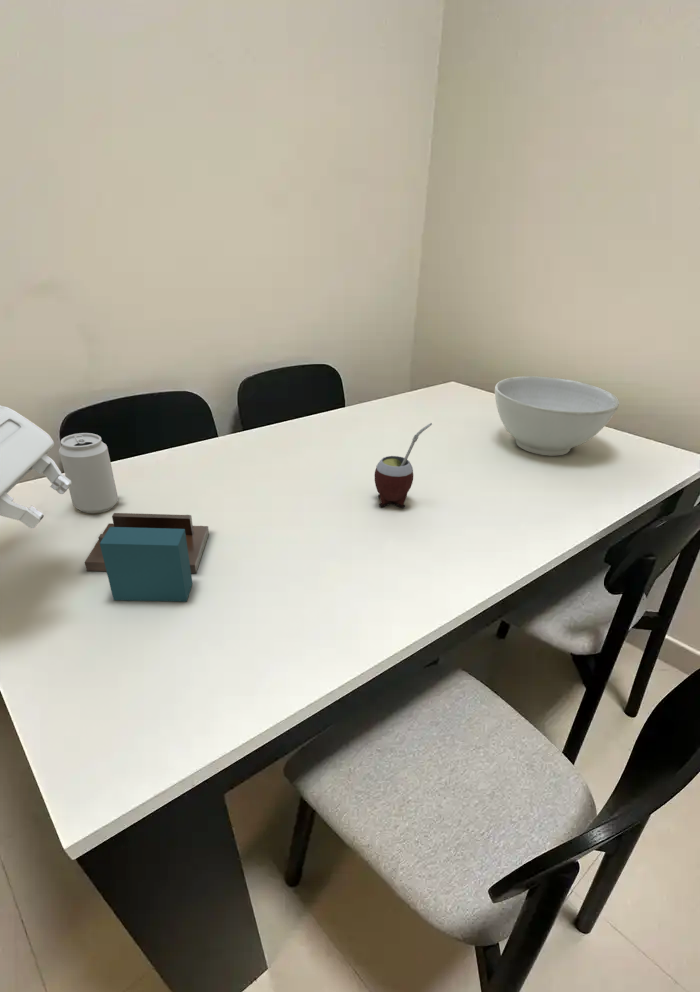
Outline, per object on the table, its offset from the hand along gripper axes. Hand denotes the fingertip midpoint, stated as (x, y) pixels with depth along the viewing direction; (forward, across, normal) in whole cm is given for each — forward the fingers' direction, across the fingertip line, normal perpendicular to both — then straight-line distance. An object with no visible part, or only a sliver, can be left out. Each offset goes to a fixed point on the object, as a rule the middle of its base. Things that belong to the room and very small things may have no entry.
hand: (54, 504), depth 73 cm
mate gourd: (+43, -32, +24) cm, 58 cm away
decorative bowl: (+69, -64, +50) cm, 107 cm away
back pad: (+17, -1, -2) cm, 17 cm away
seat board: (+14, -12, -4) cm, 19 cm away
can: (+5, -26, -14) cm, 30 cm away
